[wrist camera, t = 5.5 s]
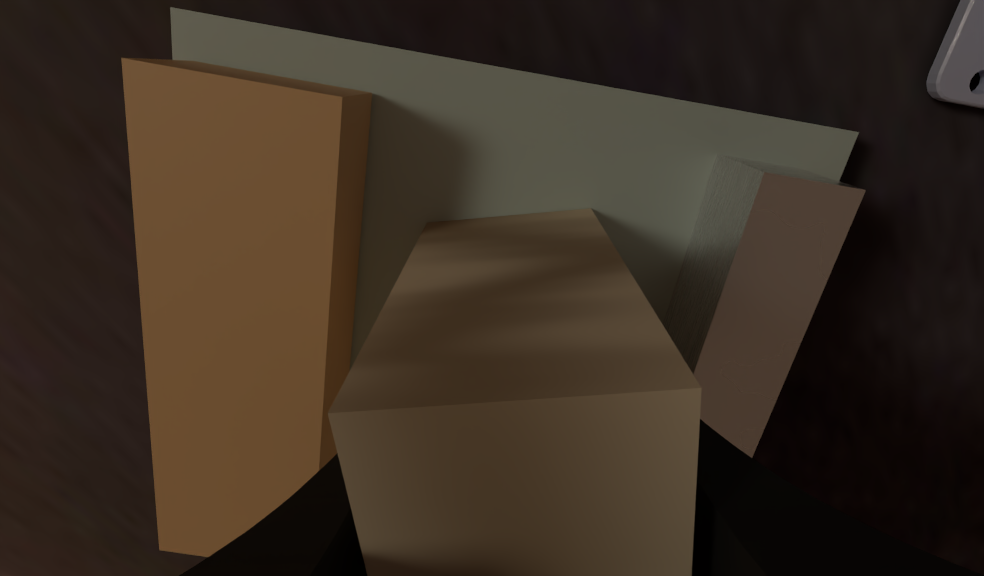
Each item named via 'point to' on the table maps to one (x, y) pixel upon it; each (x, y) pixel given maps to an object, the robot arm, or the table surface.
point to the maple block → (519, 411)
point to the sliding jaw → (241, 283)
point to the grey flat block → (589, 191)
